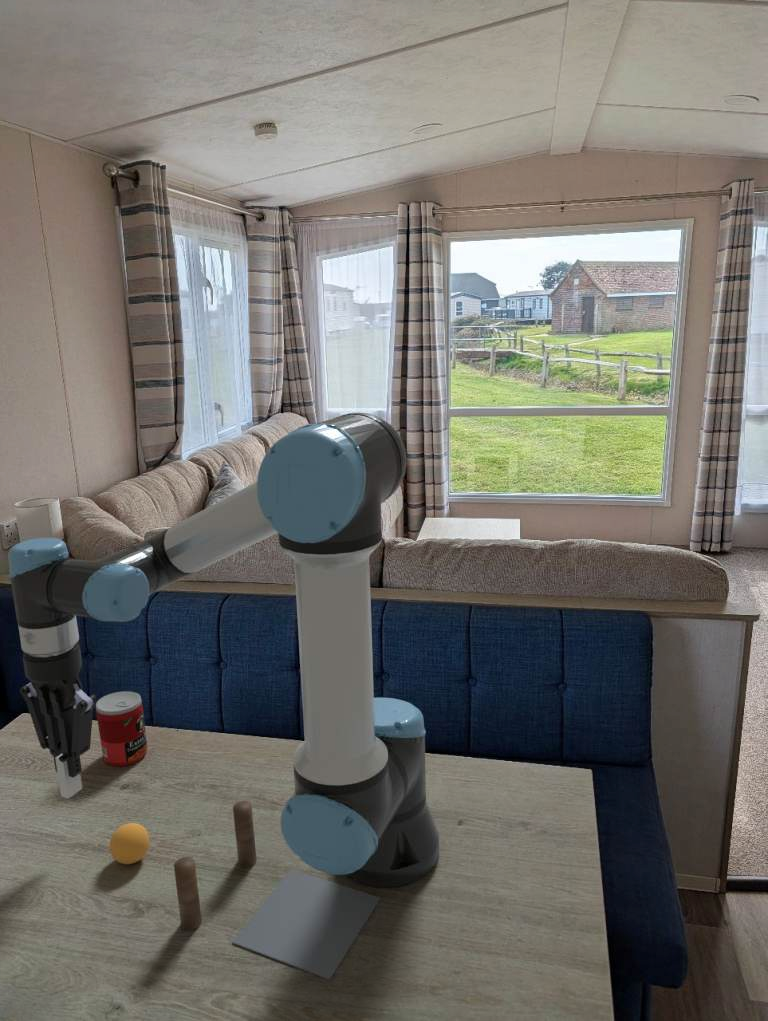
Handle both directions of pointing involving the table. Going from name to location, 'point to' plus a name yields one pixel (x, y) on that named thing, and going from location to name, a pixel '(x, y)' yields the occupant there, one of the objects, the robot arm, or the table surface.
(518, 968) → the table surface
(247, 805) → the post
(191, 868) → the front post
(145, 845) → the ball
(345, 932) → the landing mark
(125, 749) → the canned food
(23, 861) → the table surface
